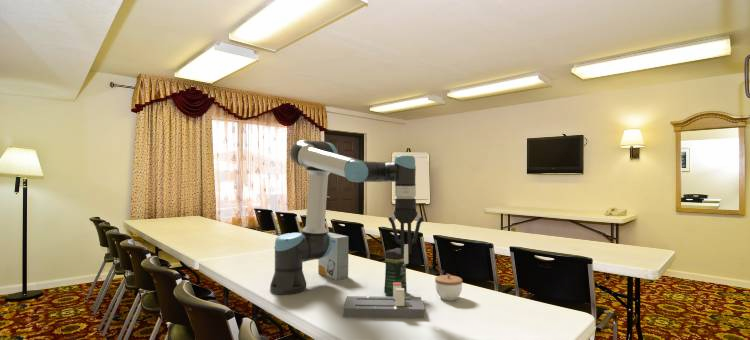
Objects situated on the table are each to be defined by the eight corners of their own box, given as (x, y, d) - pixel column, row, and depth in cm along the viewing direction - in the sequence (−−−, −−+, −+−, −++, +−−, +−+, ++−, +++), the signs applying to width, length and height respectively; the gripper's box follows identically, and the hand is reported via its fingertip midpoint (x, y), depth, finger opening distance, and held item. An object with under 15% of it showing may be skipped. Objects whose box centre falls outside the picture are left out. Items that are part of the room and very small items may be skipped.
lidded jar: (429, 298, 146) (429, 274, 146) (444, 292, 154) (444, 269, 154) (453, 304, 138) (453, 279, 139) (467, 297, 146) (467, 274, 146)
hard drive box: (317, 273, 182) (317, 233, 183) (330, 271, 188) (330, 232, 188) (336, 280, 171) (336, 237, 171) (349, 277, 176) (349, 235, 177)
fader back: (393, 299, 134) (393, 284, 134) (393, 297, 136) (393, 282, 136) (401, 299, 134) (401, 284, 134) (401, 297, 136) (401, 282, 136)
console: (342, 317, 125) (342, 308, 125) (346, 303, 139) (347, 295, 139) (424, 318, 125) (424, 309, 125) (420, 304, 138) (420, 296, 138)
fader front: (395, 305, 127) (395, 290, 127) (395, 303, 129) (395, 288, 129) (404, 306, 127) (404, 290, 127) (403, 303, 129) (403, 288, 129)
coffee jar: (397, 298, 145) (398, 251, 146) (381, 294, 150) (381, 249, 150) (409, 292, 153) (409, 247, 154) (393, 288, 158) (393, 245, 158)
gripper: (387, 198, 130) (388, 265, 129) (424, 198, 129) (424, 265, 128) (387, 197, 137) (388, 260, 137) (422, 197, 137) (423, 260, 136)
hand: (406, 262), depth 133 cm, fingers closed
